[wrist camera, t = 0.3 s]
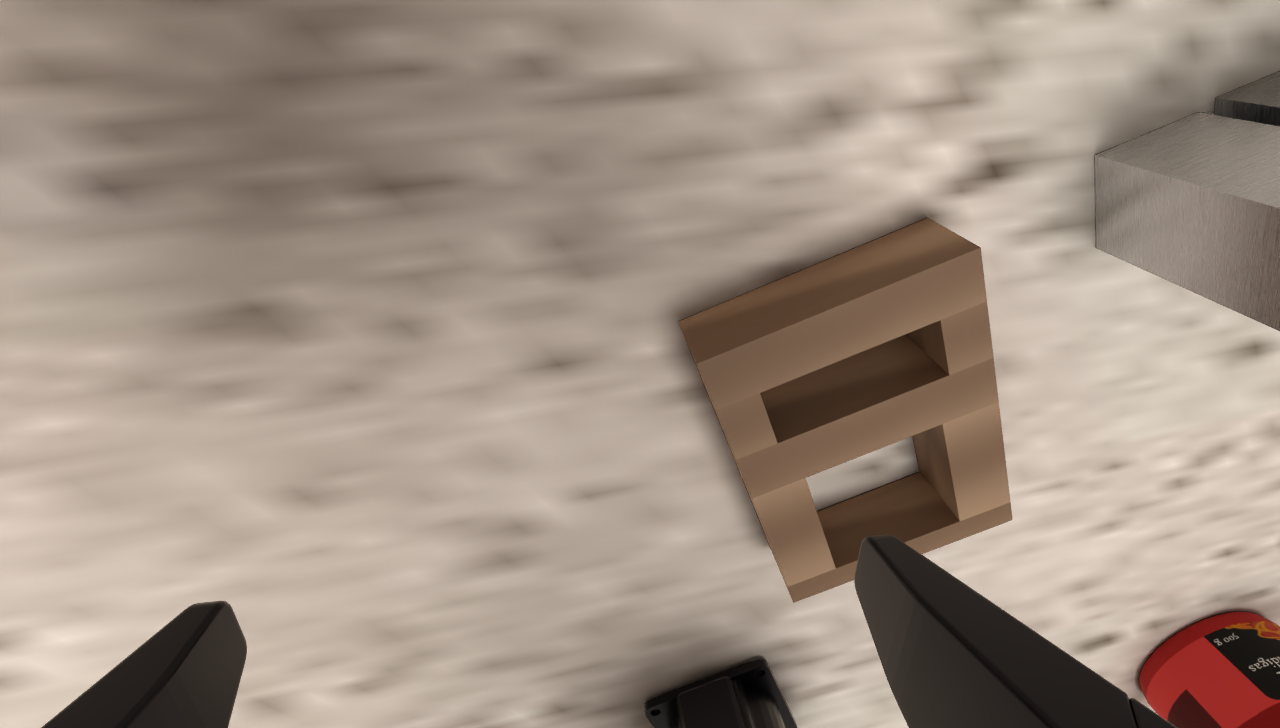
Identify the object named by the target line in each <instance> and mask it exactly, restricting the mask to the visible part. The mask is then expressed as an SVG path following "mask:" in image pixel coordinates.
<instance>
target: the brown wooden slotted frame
mask: <svg viewBox="0 0 1280 728" xmlns="http://www.w3.org/2000/svg"><path fill="white" fill-rule="evenodd" d="M678 322H679V324H680V326H681V329H682V331H683V334H684V336H685V339H686V341H687V344H688V346H689V349H690V351H691V354H692V356H693V358H694V361H695V363H696V366H697V368H698V371H699V373H700V376H701V378H702V381H703V383H704V386H705V388H706V390H707V393H708V395H709V398H710V400H711V403H712V405H713V408H714V410H715V413H716V415H717V418H718V420H719V422H720V425H721V427H722V430H723V432H724V435H725V437H726V440H727V442H728V445H729V447H730V450H731V452H732V454H733V457H734V459H735V462H736V464H737V467H738V469H739V472H740V474H741V477H742V479H743V482H744V484H745V486H746V489H747V491H748V494H749V496H750V499H751V501H752V504H753V506H754V509H755V511H756V514H757V516H758V518H759V521H760V523H761V526H762V528H763V531H764V533H765V536H766V538H767V541H768V543H769V546H770V548H771V550H772V553H773V555H774V557H775V560H776V562H777V565H778V567H779V569H780V572H781V574H782V576H783V579H784V581H785V584H786V586H787V588H788V591H789V593H790V595H791V598H792V600H793V602H797V601H799V600H802V599H805V598H807V597H810V596H813V595H815V594H818V593H820V592H823V591H826V590H828V589H831V588H834V587H836V586H839V585H842V584H844V583H847V582H850V581H852V580H855V571H856V566H857V561H858V557H859V552H860V547H861V543H862V541H863V539H864V538H865V537H867V536H875V535H885V534H889V535H893V536H895V537H896V538H898V539H899V540H901V541H902V542H904V543H905V544H907V545H908V546H910V547H911V548H913V549H914V550H916V551H917V552H919V553H920V554H924V553H926V552H929V551H931V550H934V549H937V548H939V547H942V546H945V545H947V544H950V543H953V542H955V541H958V540H961V539H963V538H966V537H968V536H971V535H974V534H976V533H979V532H982V531H984V530H987V529H990V528H992V527H995V526H998V525H1000V524H1003V523H1005V522H1008V521H1011V520H1012V512H1011V503H1010V495H1009V486H1008V478H1007V469H1006V461H1005V452H1004V444H1003V435H1002V427H1001V418H1000V410H999V401H998V393H997V384H996V375H995V367H994V358H993V350H992V341H991V333H990V324H989V316H988V307H987V299H986V290H985V282H984V273H983V264H982V256H981V248H980V247H979V246H977V245H975V244H973V243H972V242H970V241H968V240H966V239H965V238H963V237H961V236H959V235H957V234H956V233H954V232H952V231H950V230H949V229H947V228H945V227H943V226H942V225H940V224H938V223H936V222H935V221H933V220H931V219H929V218H926V219H924V220H921V221H919V222H917V223H914V224H912V225H909V226H907V227H905V228H902V229H900V230H897V231H895V232H893V233H890V234H888V235H885V236H883V237H881V238H878V239H876V240H873V241H871V242H868V243H866V244H864V245H861V246H859V247H856V248H854V249H852V250H849V251H847V252H844V253H842V254H840V255H837V256H835V257H832V258H830V259H828V260H825V261H823V262H820V263H818V264H816V265H813V266H811V267H808V268H806V269H803V270H801V271H799V272H796V273H794V274H791V275H789V276H787V277H784V278H782V279H779V280H777V281H775V282H772V283H770V284H767V285H765V286H763V287H760V288H758V289H755V290H753V291H751V292H748V293H746V294H743V295H741V296H739V297H736V298H734V299H731V300H729V301H726V302H724V303H722V304H719V305H717V306H714V307H712V308H710V309H707V310H705V311H702V312H700V313H698V314H695V315H693V316H690V317H688V318H686V319H683V320H681V321H678ZM911 436H913V441H914V446H915V450H916V455H917V460H918V465H919V469H920V472H919V473H916V474H913V475H911V476H908V477H906V478H903V479H900V480H898V481H895V482H893V483H890V484H888V485H885V486H882V487H880V488H877V489H875V490H872V491H870V492H867V493H864V494H862V495H859V496H857V497H854V498H851V499H849V500H846V501H844V502H841V503H839V504H836V505H833V506H831V507H828V508H826V509H823V510H820V511H818V512H817V511H816V508H815V505H814V502H813V499H812V496H811V493H810V490H809V487H808V484H807V481H806V479H805V478H806V477H809V476H811V475H814V474H816V473H819V472H821V471H824V470H826V469H829V468H832V467H834V466H837V465H839V464H842V463H844V462H847V461H849V460H852V459H855V458H857V457H860V456H862V455H865V454H867V453H870V452H872V451H875V450H878V449H880V448H883V447H885V446H888V445H890V444H893V443H895V442H898V441H900V440H903V439H906V438H908V437H911Z"/></svg>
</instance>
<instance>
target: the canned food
mask: <svg viewBox="0 0 1280 728" xmlns="http://www.w3.org/2000/svg"><path fill="white" fill-rule="evenodd" d="M1139 683H1140V687H1141V689H1142V691H1143V693H1144V696H1145V698H1146V700H1147V702H1148V703H1149V704H1150V706H1151V707H1152V708H1153V709H1154V710H1155V711H1156V713H1157V714H1158V715H1159V716H1160V717H1162V718H1163V719H1165V720H1166V721H1168V722H1169V723H1171V724H1172V725H1174V726H1176V727H1177V728H1280V627H1279V626H1278V625H1277V624H1275V623H1273V622H1271V621H1269V620H1267V619H1265V618H1263V617H1261V616H1260V615H1257V614H1254V613H1251V612H1231V613H1224V614H1220V615H1216V616H1212V617H1210V618H1207V619H1204V620H1201V621H1199V622H1197V623H1195V624H1192V625H1190V626H1188V627H1187V628H1185V629H1183V630H1181V631H1180V632H1178V633H1176V634H1175V635H1174V636H1172V637H1171V638H1169V639H1168V640H1166V641H1165V642H1164V643H1163V644H1162V645H1161V646H1159V647H1158V648H1157V649H1156V650H1155V651H1154V652H1153V654H1152V655H1151V656H1150V657H1149V658H1148V660H1147V661H1146V663H1145V664H1144V666H1143V668H1142V671H1141V673H1140V679H1139Z"/></svg>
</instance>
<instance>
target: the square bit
mask: <svg viewBox="0 0 1280 728" xmlns="http://www.w3.org/2000/svg"><path fill="white" fill-rule="evenodd" d="M1095 209H1096V248H1097V249H1099V250H1101V251H1104V252H1106V253H1108V254H1110V255H1112V256H1115V257H1117V258H1119V259H1121V260H1123V261H1126V262H1128V263H1130V264H1132V265H1135V266H1137V267H1139V268H1141V269H1143V270H1146V271H1148V272H1150V273H1152V274H1154V275H1157V276H1159V277H1161V278H1163V279H1165V280H1168V281H1170V282H1172V283H1174V284H1177V285H1179V286H1181V287H1183V288H1185V289H1188V290H1190V291H1192V292H1194V293H1196V294H1199V295H1201V296H1203V297H1205V298H1207V299H1210V300H1212V301H1214V302H1216V303H1219V304H1221V305H1223V306H1225V307H1227V308H1230V309H1232V310H1234V311H1236V312H1238V313H1241V314H1243V315H1245V316H1247V317H1250V318H1252V319H1254V320H1256V321H1258V322H1261V323H1263V324H1265V325H1267V326H1269V327H1272V328H1274V329H1276V330H1278V331H1280V126H1274V125H1268V124H1263V123H1257V122H1251V121H1246V120H1240V119H1234V118H1229V117H1223V116H1217V115H1212V114H1206V113H1200V112H1198V113H1196V114H1193V115H1191V116H1188V117H1186V118H1183V119H1181V120H1179V121H1176V122H1174V123H1171V124H1169V125H1167V126H1164V127H1162V128H1159V129H1157V130H1155V131H1152V132H1150V133H1147V134H1145V135H1142V136H1140V137H1138V138H1135V139H1133V140H1130V141H1128V142H1126V143H1123V144H1121V145H1118V146H1116V147H1114V148H1111V149H1109V150H1106V151H1104V152H1102V153H1099V154H1097V155H1095Z"/></svg>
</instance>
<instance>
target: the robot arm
mask: <svg viewBox="0 0 1280 728" xmlns="http://www.w3.org/2000/svg"><path fill="white" fill-rule="evenodd" d="M855 588H856V592H857V595H858V598H859V601H860V603H861V606H862V609H863V612H864V615H865V618H866V620H867V623H868V626H869V629H870V632H871V635H872V637H873V640H874V643H875V646H876V649H877V652H878V655H879V657H880V660H881V663H882V666H883V669H884V672H885V674H886V677H887V680H888V682H889V685H890V687H891V690H892V692H893V694H894V697H895V699H896V701H897V703H898V706H899V708H900V710H901V712H902V714H903V716H904V718H905V720H906V722H907V725H908V727H909V728H1177V727H1176V726H1174V725H1172V724H1171V723H1169V722H1168V721H1166V720H1165V719H1163V718H1162V717H1160V716H1159V715H1157V714H1156V713H1155V712H1153V711H1152V710H1150V709H1149V708H1147V707H1146V706H1144V705H1143V704H1141V703H1140V702H1138V701H1137V700H1135V699H1133V698H1130V699H1129V698H1128V695H1127V694H1126V693H1125V692H1123V691H1122V690H1120V689H1119V688H1117V687H1116V686H1114V685H1113V684H1111V683H1110V682H1109V681H1107V680H1106V679H1104V678H1103V677H1101V676H1100V675H1098V674H1097V673H1095V672H1094V671H1092V670H1091V669H1089V668H1088V667H1086V666H1085V665H1083V664H1082V663H1081V662H1079V661H1078V660H1076V659H1075V658H1073V657H1072V656H1070V655H1069V654H1067V653H1066V652H1064V651H1063V650H1061V649H1060V648H1058V647H1057V646H1056V645H1054V644H1053V643H1051V642H1050V641H1048V640H1047V639H1045V638H1044V637H1042V636H1041V635H1039V634H1038V633H1036V632H1035V631H1033V630H1032V629H1030V628H1029V627H1028V626H1026V625H1025V624H1023V623H1022V622H1020V621H1019V620H1017V619H1016V618H1014V617H1013V616H1011V615H1010V614H1008V613H1007V612H1005V611H1004V610H1002V609H1001V608H1000V607H998V606H997V605H995V604H994V603H992V602H991V601H989V600H988V599H986V598H985V597H983V596H982V595H980V594H979V593H977V592H976V591H975V590H973V589H972V588H970V587H969V586H967V585H966V584H964V583H963V582H961V581H960V580H958V579H957V578H955V577H954V576H952V575H951V574H949V573H948V572H947V571H945V570H944V569H942V568H941V567H939V566H938V565H936V564H935V563H933V562H932V561H930V560H929V559H927V558H926V557H924V556H923V555H921V554H920V553H919V552H917V551H916V550H914V549H913V548H911V547H910V546H908V545H907V544H905V543H904V542H902V541H901V540H899V539H898V538H896V537H895V536H893V535H889V534H885V535H875V536H867V537H865V538H864V539H863V541H862V543H861V547H860V552H859V557H858V561H857V566H856V571H855ZM246 654H247V645H246V640H245V637H244V635H243V633H242V630H241V628H240V626H239V623H238V621H237V619H236V616H235V614H234V612H233V609H232V607H231V606H230V604H228V603H227V602H225V601H215V602H205V603H197V604H193V605H191V606H190V607H188V608H187V609H185V610H184V611H183V612H182V613H180V614H179V615H178V616H177V617H176V618H174V619H173V620H172V621H171V622H169V623H168V624H167V625H166V626H165V627H163V628H162V629H161V630H160V631H159V632H157V633H156V634H155V635H154V636H152V637H151V638H150V639H149V640H148V641H146V642H145V643H144V644H143V645H141V646H140V647H139V648H138V649H137V650H135V651H134V652H133V653H132V654H130V655H129V656H128V657H127V658H126V659H124V660H123V661H122V662H121V663H120V664H118V665H117V666H116V667H115V668H113V669H112V670H111V671H110V672H109V673H107V674H106V675H105V676H104V677H102V678H101V679H100V680H99V681H98V682H96V683H95V684H94V685H93V686H92V687H90V688H89V689H88V690H87V691H85V692H84V693H83V694H82V695H81V696H79V697H78V698H77V699H76V700H74V701H73V702H72V703H71V704H70V705H68V706H67V707H66V708H65V709H63V710H62V711H61V712H60V713H59V714H57V715H56V716H55V717H54V718H53V719H51V720H50V721H49V722H48V723H46V724H45V725H44V726H43V727H42V728H228V725H229V722H230V718H231V714H232V710H233V706H234V702H235V699H236V695H237V691H238V687H239V683H240V679H241V676H242V672H243V668H244V664H245V660H246ZM644 707H645V714H646V716H647V718H648V719H649V721H650V722H651V724H652V725H653V727H654V728H797V725H796V722H795V720H794V718H793V716H792V713H791V711H790V709H789V707H788V705H787V703H786V701H785V699H784V697H783V695H782V692H781V690H780V688H779V686H778V684H777V682H776V680H775V678H774V676H773V673H772V671H771V669H770V667H769V665H768V663H767V662H766V661H765V660H756V661H753V662H750V663H747V664H745V665H742V666H739V667H737V668H734V669H731V670H729V671H726V672H723V673H721V674H718V675H715V676H713V677H710V678H707V679H704V680H702V681H699V682H696V683H694V684H691V685H688V686H686V687H683V688H680V689H678V690H675V691H672V692H670V693H667V694H664V695H662V696H659V697H656V698H654V699H651V700H649V701H647V702H646V703H645V706H644Z"/></svg>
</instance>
